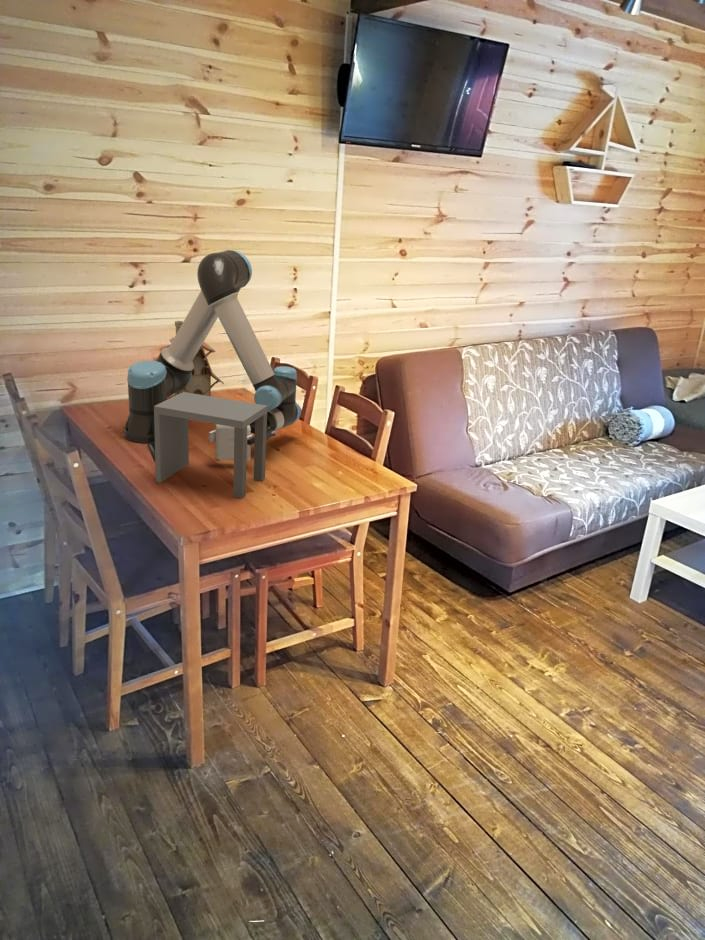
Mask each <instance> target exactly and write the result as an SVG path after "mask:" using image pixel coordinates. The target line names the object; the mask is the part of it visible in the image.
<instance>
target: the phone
mask: <svg viewBox="0 0 705 940" xmlns="http://www.w3.org/2000/svg"><path fill="white" fill-rule="evenodd" d="M147 447H148V449H149V451H150V454H151V456H152V459H153V461H154V462H155V442H153V443H147Z"/></svg>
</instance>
